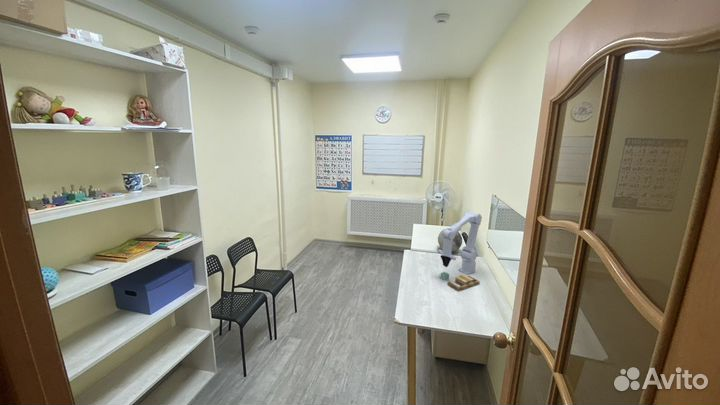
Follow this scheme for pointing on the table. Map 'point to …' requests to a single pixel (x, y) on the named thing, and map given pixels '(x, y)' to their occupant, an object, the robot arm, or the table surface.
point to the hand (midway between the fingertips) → (445, 266)
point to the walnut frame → (462, 285)
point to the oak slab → (465, 279)
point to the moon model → (455, 242)
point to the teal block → (444, 276)
